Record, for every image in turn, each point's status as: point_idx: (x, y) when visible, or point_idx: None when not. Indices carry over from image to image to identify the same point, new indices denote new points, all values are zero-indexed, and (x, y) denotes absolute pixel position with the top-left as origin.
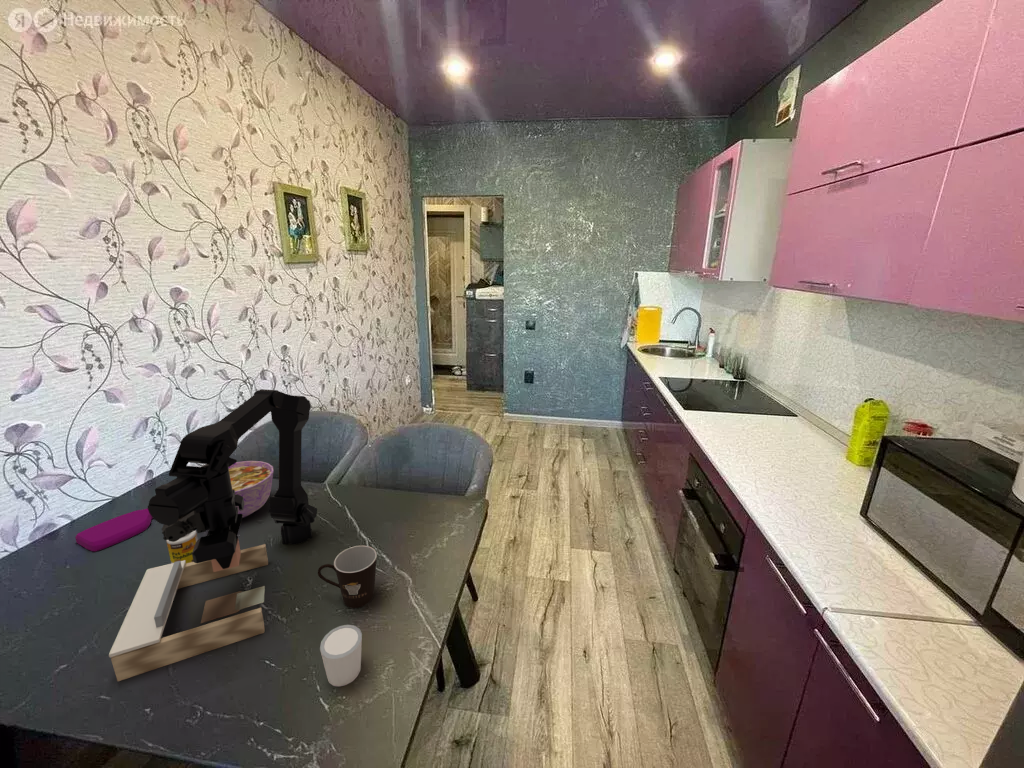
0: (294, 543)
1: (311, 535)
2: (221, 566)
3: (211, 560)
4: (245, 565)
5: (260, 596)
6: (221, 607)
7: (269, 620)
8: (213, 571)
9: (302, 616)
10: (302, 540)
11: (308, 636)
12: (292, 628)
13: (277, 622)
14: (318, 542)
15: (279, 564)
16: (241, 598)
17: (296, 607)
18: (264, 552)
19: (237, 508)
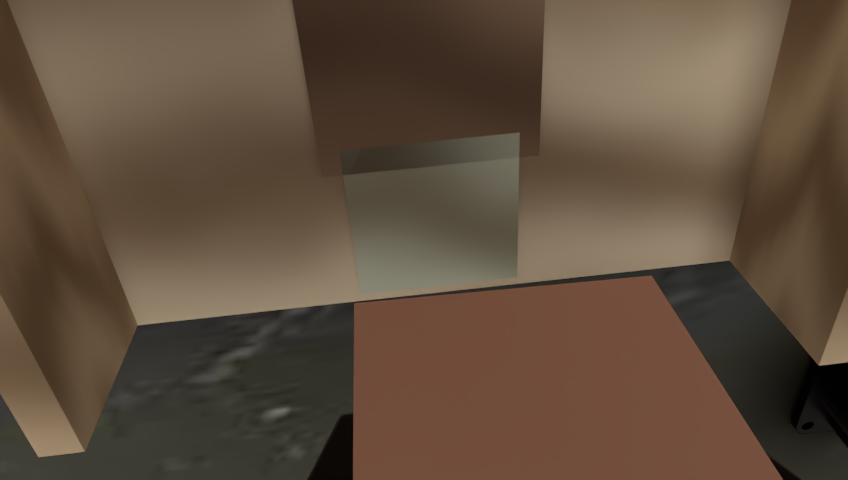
0: (843, 372)
1: (846, 445)
2: (322, 455)
3: (353, 474)
4: (784, 166)
5: (420, 271)
6: (410, 58)
7: (228, 315)
8: (354, 311)
9: (215, 436)
10: (834, 410)
11: (74, 467)
12: (140, 410)
13: (201, 349)
14: (782, 441)
15: (712, 297)
16: (454, 168)
17: (289, 409)
18: (791, 324)
19: None
